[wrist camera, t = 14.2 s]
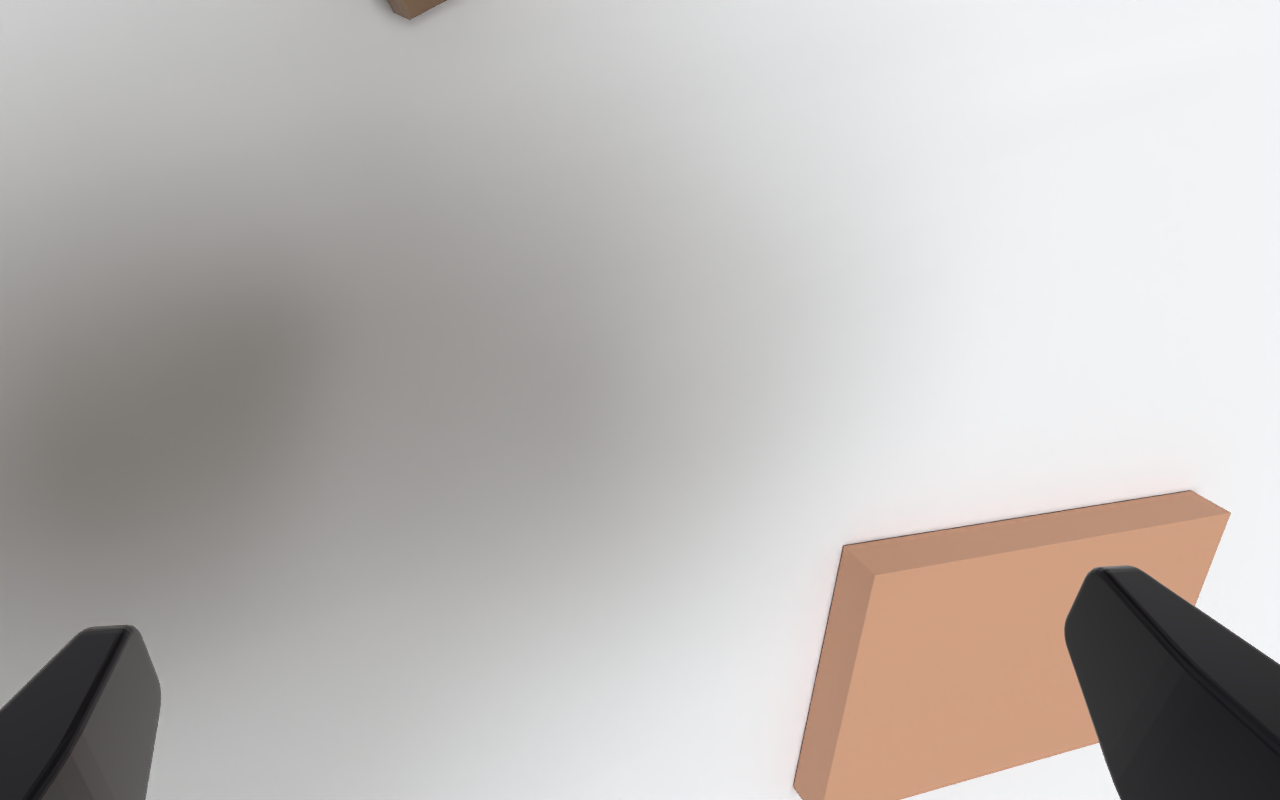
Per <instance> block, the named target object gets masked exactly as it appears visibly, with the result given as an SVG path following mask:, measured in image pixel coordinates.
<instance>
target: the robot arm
mask: <svg viewBox="0 0 1280 800" xmlns="http://www.w3.org/2000/svg"><path fill="white" fill-rule="evenodd" d="M1064 636H1065V642H1066V646H1067V649H1068V652H1069V655H1070V658H1071V661H1072V664H1073V667H1074V670H1075V673H1076V676H1077V679H1078V682H1079V685H1080V688H1081V690H1082V693H1083V696H1084V699H1085V702H1086V705H1087V708H1088V711H1089V714H1090V717H1091V720H1092V723H1093V726H1094V729H1095V732H1096V734H1097V737H1098V740H1099V743H1100V746H1101V749H1102V752H1103V755H1104V758H1105V761H1106V764H1107V766H1108V769H1109V772H1110V774H1111V777H1112V780H1113V782H1114V785H1115V787H1116V790H1117V792H1118V794H1119V797H1120V799H1121V800H1280V664H1278V663H1277V662H1275V661H1274V660H1273V659H1271V658H1270V657H1268V656H1267V655H1265V654H1264V653H1262V652H1261V651H1259V650H1258V649H1256V648H1255V647H1253V646H1252V645H1251V644H1249V643H1248V642H1246V641H1245V640H1243V639H1242V638H1240V637H1239V636H1237V635H1236V634H1234V633H1233V632H1232V631H1230V630H1229V629H1227V628H1226V627H1224V626H1223V625H1221V624H1220V623H1218V622H1217V621H1215V620H1214V619H1213V618H1211V617H1210V616H1208V615H1207V614H1205V613H1204V612H1202V611H1201V610H1199V609H1198V608H1196V607H1195V606H1194V605H1192V604H1191V603H1189V602H1188V601H1186V600H1185V599H1183V598H1182V597H1180V596H1179V595H1177V594H1176V593H1174V592H1173V591H1172V590H1170V589H1169V588H1167V587H1166V586H1164V585H1163V584H1161V583H1160V582H1158V581H1157V580H1155V579H1154V578H1153V577H1151V576H1150V575H1148V574H1147V573H1145V572H1144V571H1142V570H1140V569H1139V568H1136V567H1134V566H1129V565H1120V566H1103V567H1096V568H1093V569H1092V570H1091V571H1089V572H1088V573H1087V575H1086V577H1085V579H1084V581H1083V583H1082V585H1081V587H1080V589H1079V591H1078V594H1077V596H1076V598H1075V600H1074V602H1073V604H1072V607H1071V609H1070V611H1069V613H1068V615H1067V618H1066V620H1065V626H1064ZM160 706H161V689H160V683H159V680H158V677H157V674H156V672H155V669H154V667H153V664H152V661H151V659H150V656H149V654H148V651H147V649H146V646H145V643H144V641H143V638H142V636H141V634H140V632H139V630H137V629H136V628H135V627H134V626H131V625H116V626H99V627H90V628H87V629H85V630H83V631H81V632H80V633H78V634H77V635H76V636H75V637H74V638H73V639H72V640H71V641H70V642H69V643H68V644H67V645H66V646H65V647H64V648H63V649H62V650H61V651H60V652H59V653H58V654H57V655H55V656H54V657H53V658H52V659H51V660H50V661H49V662H48V663H47V664H46V665H45V666H44V667H43V668H42V669H41V670H40V671H39V672H38V673H37V674H36V675H35V676H34V677H33V678H32V679H31V680H30V681H29V682H28V683H27V684H26V685H25V686H24V687H23V688H22V689H21V690H20V691H19V692H18V693H17V694H16V695H15V696H14V697H13V698H12V699H11V700H10V701H9V702H8V703H7V704H6V705H5V706H4V707H3V708H2V709H1V710H0V800H145V799H146V793H147V787H148V780H149V774H150V768H151V762H152V756H153V750H154V744H155V738H156V732H157V726H158V719H159V713H160Z"/></svg>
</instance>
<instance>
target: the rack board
mask: <svg viewBox="0 0 1280 800" xmlns="http://www.w3.org/2000/svg"><path fill="white" fill-rule="evenodd" d="M444 1H446V0H388V2H389V4H390V6H391V8H392V10H393V12H394V13H396V14H398V15H401V16H403V17H405V18H407V19H410V20H411V19H412V18H414V17H416V16H418V15H420V14H422V13H424V12H426V11H427V10H429V9H431V8H433V7H435V6H437V5H439V4H440V3H442V2H444Z"/></svg>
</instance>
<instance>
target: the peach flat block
mask: <svg viewBox="0 0 1280 800" xmlns="http://www.w3.org/2000/svg"><path fill="white" fill-rule="evenodd" d="M1230 514H1231V513H1230V512H1228V511H1227V510H1225V509H1223V508H1221V507H1220V506H1218V505H1216V504H1214V503H1212V502H1211V501H1209V500H1207V499H1205V498H1204V497H1202V496H1200V495H1198V494H1197V493H1195V492H1193V491H1186V492H1180V493H1174V494H1167V495H1161V496H1155V497H1149V498H1142V499H1136V500H1130V501H1123V502H1117V503H1111V504H1105V505H1098V506H1092V507H1086V508H1079V509H1073V510H1067V511H1061V512H1054V513H1048V514H1042V515H1035V516H1029V517H1023V518H1017V519H1010V520H1004V521H998V522H991V523H985V524H979V525H973V526H966V527H960V528H954V529H947V530H941V531H935V532H929V533H922V534H916V535H910V536H903V537H897V538H891V539H885V540H878V541H872V542H866V543H859V544H853V545H847V546H844V548H843V553H842V557H841V562H840V567H839V572H838V577H837V581H836V586H835V591H834V596H833V600H832V605H831V610H830V615H829V620H828V624H827V629H826V634H825V639H824V643H823V648H822V653H821V658H820V663H819V667H818V672H817V677H816V682H815V687H814V691H813V696H812V701H811V706H810V710H809V715H808V720H807V725H806V730H805V734H804V739H803V744H802V749H801V753H800V758H799V763H798V768H797V773H796V777H795V782H794V789H795V790H796V791H797V793H798V794H799V796H800V797H801V798H802V800H900V799H904V798H907V797H911V796H914V795H918V794H921V793H925V792H928V791H932V790H935V789H939V788H942V787H946V786H949V785H953V784H956V783H960V782H963V781H967V780H970V779H974V778H977V777H981V776H984V775H988V774H991V773H995V772H998V771H1002V770H1005V769H1009V768H1012V767H1015V766H1019V765H1022V764H1026V763H1029V762H1033V761H1036V760H1040V759H1043V758H1047V757H1050V756H1054V755H1057V754H1061V753H1064V752H1068V751H1071V750H1075V749H1078V748H1082V747H1085V746H1089V745H1092V744H1096V743H1099V740H1098V737H1097V734H1096V732H1095V729H1094V726H1093V723H1092V720H1091V717H1090V714H1089V711H1088V708H1087V705H1086V702H1085V699H1084V696H1083V693H1082V690H1081V688H1080V685H1079V682H1078V679H1077V676H1076V673H1075V670H1074V667H1073V664H1072V661H1071V658H1070V655H1069V652H1068V649H1067V646H1066V642H1065V636H1064V626H1065V620H1066V618H1067V615H1068V613H1069V611H1070V609H1071V607H1072V604H1073V602H1074V600H1075V598H1076V596H1077V594H1078V591H1079V589H1080V587H1081V585H1082V583H1083V581H1084V579H1085V577H1086V575H1087V573H1088V572H1089V571H1091V570H1092V569H1093V568H1096V567H1103V566H1120V565H1129V566H1134V567H1136V568H1139V569H1140V570H1142V571H1144V572H1145V573H1147V574H1148V575H1150V576H1151V577H1153V578H1154V579H1155V580H1157V581H1158V582H1160V583H1161V584H1163V585H1164V586H1166V587H1167V588H1169V589H1170V590H1172V591H1173V592H1174V593H1176V594H1177V595H1179V596H1180V597H1182V598H1183V599H1185V600H1186V601H1188V602H1189V603H1191V604H1192V605H1194V606H1195V604H1196V602H1197V599H1198V596H1199V594H1200V591H1201V589H1202V586H1203V583H1204V581H1205V578H1206V576H1207V573H1208V571H1209V568H1210V565H1211V563H1212V560H1213V558H1214V555H1215V552H1216V550H1217V547H1218V545H1219V542H1220V540H1221V537H1222V534H1223V532H1224V529H1225V527H1226V524H1227V521H1228V519H1229V516H1230Z"/></svg>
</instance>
